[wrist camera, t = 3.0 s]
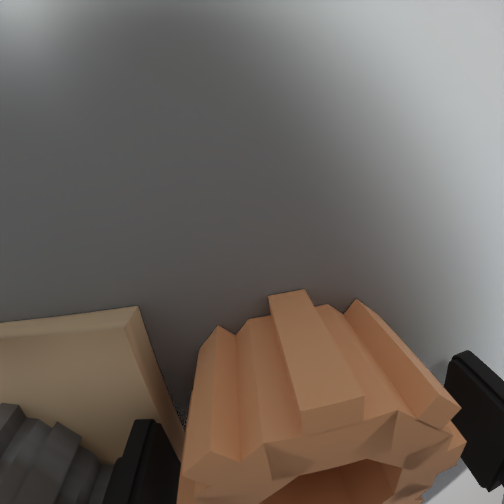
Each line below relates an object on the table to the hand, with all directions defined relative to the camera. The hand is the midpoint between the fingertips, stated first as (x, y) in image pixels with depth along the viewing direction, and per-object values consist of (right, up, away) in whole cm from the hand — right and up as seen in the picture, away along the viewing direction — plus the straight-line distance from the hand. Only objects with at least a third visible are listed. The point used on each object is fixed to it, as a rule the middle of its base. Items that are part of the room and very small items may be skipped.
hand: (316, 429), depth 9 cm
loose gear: (0, +1, +2) cm, 2 cm away
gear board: (-10, -8, +4) cm, 13 cm away
